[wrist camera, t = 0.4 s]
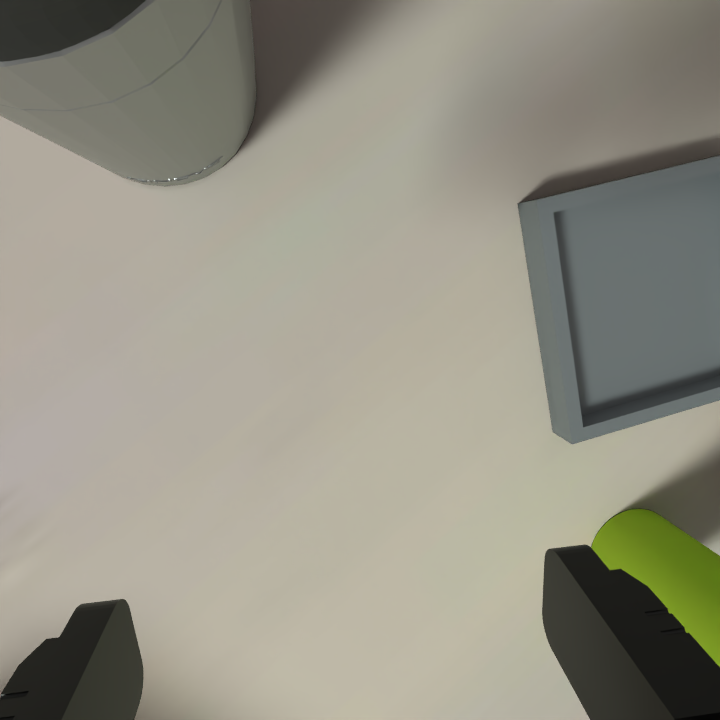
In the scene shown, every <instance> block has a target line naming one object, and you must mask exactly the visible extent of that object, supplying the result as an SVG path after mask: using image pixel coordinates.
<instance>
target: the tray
mask: <svg viewBox="0 0 720 720" xmlns="http://www.w3.org/2000/svg"><path fill="white" fill-rule="evenodd" d="M518 209H519V215H520V222H521V228H522V235H523V241H524V248H525V254H526V261H527V267H528V274H529V280H530V287H531V293H532V300H533V306H534V313H535V319H536V326H537V332H538V339H539V345H540V352H541V358H542V365H543V371H544V378H545V384H546V391H547V397H548V404H549V410H550V417H551V423H552V430H553V432H554V433H555V434H557V435H558V436H560V437H561V438H563V439H565V440H566V441H568V442H569V443H571V444H575V443H578V442H582V441H585V440H588V439H592V438H595V437H598V436H602V435H605V434H608V433H612V432H615V431H618V430H622V429H625V428H628V427H632V426H635V425H638V424H642V423H645V422H648V421H652V420H655V419H658V418H662V417H665V416H668V415H672V414H675V413H678V412H682V411H685V410H688V409H692V408H695V407H699V406H702V405H705V404H709V403H712V402H715V401H719V400H720V155H718V156H713V157H709V158H705V159H701V160H697V161H693V162H689V163H684V164H680V165H676V166H672V167H668V168H664V169H660V170H655V171H651V172H647V173H643V174H639V175H635V176H631V177H626V178H622V179H618V180H614V181H610V182H606V183H602V184H597V185H593V186H589V187H585V188H581V189H577V190H572V191H568V192H564V193H560V194H556V195H552V196H548V197H543V198H539V199H535V200H531V201H527V202H523V203H519V204H518Z"/></svg>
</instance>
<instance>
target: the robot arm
mask: <svg viewBox="0 0 720 720" xmlns="http://www.w3.org/2000/svg"><path fill="white" fill-rule="evenodd" d="M256 96H257V94H256V78H255V57H254V44H253V32H252V19H251V7H250V0H0V116H2V117H4V118H6V119H8V120H10V121H12V122H14V123H16V124H18V125H20V126H22V127H24V128H26V129H28V130H30V131H32V132H34V133H36V134H38V135H40V136H42V137H44V138H46V139H48V140H50V141H52V142H54V143H56V144H58V145H60V146H62V147H64V148H66V149H68V150H70V151H72V152H74V153H75V154H77V155H79V156H81V157H83V158H85V159H87V160H89V161H91V162H93V163H95V164H97V165H99V166H101V167H103V168H105V169H107V170H109V171H111V172H113V173H115V174H117V175H119V176H121V177H123V178H126V179H130V180H133V181H136V182H139V183H142V184H148V185H157V186H173V185H182V184H188V183H191V182H193V181H196V180H199V179H202V178H205V177H207V176H208V175H210V174H212V173H213V172H215V171H216V170H218V169H220V168H221V167H223V166H224V165H225V164H226V163H227V162H228V161H229V160H230V159H231V158H232V157H233V156H234V155H235V154H236V152H237V151H238V149H239V148H240V146H241V144H242V143H243V141H244V140H245V138H246V136H247V134H248V131H249V128H250V126H251V123H252V120H253V117H254V111H255V104H256ZM542 616H543V624H544V629H545V633H546V636H547V639H548V642H549V644H550V647H551V649H552V651H553V652H554V654H555V656H556V658H557V660H558V662H559V663H560V665H561V667H562V669H563V671H564V673H565V674H566V676H567V678H568V680H569V682H570V683H571V685H572V687H573V689H574V691H575V693H576V694H577V696H578V698H579V700H580V702H581V704H582V705H583V707H584V709H585V711H586V713H587V714H588V716H589V718H590V720H720V667H719V666H718V665H717V664H716V662H715V661H714V660H713V659H712V658H711V657H710V656H709V655H708V653H707V652H706V651H705V650H704V649H703V648H702V647H701V646H700V644H699V643H698V642H697V641H696V640H695V639H694V638H693V637H692V635H691V634H690V633H686V631H685V628H684V626H683V625H682V624H681V623H680V622H679V621H678V620H677V619H676V617H675V616H674V615H673V614H672V613H669V612H668V608H667V607H666V606H665V605H664V604H663V603H662V602H661V600H660V599H659V598H658V597H657V596H656V595H655V594H654V593H653V591H652V590H651V589H650V588H649V587H648V586H647V585H645V584H643V583H642V582H640V581H639V580H637V579H636V578H634V577H633V576H631V575H630V574H628V573H627V572H625V571H623V570H622V569H616V570H609V569H608V567H607V566H606V565H605V564H604V563H603V561H602V560H601V559H600V558H599V556H598V555H597V554H596V553H595V552H594V550H593V549H592V548H591V547H589V546H588V545H578V546H569V547H561V548H553V549H548V550H547V551H546V554H545V562H544V585H543V607H542ZM142 688H143V664H142V659H141V655H140V650H139V646H138V642H137V638H136V634H135V629H134V625H133V621H132V617H131V612H130V608H129V605H128V603H127V602H126V600H124V599H119V600H111V601H102V602H94V603H86V604H81V605H79V606H78V607H77V608H76V609H75V611H74V613H73V614H72V616H71V618H70V620H69V621H68V623H67V625H66V627H65V628H64V630H63V632H62V634H61V635H60V637H59V638H51V639H46V640H45V641H44V642H43V643H42V644H41V645H40V646H39V647H37V648H36V649H35V650H34V651H33V652H32V653H31V654H30V655H29V656H28V657H27V658H26V659H25V660H24V661H23V662H22V663H21V664H20V665H19V666H18V667H17V669H16V671H15V672H14V674H13V675H12V677H11V679H10V680H9V682H8V684H7V685H6V687H5V688H4V690H3V692H2V693H1V698H0V720H134V718H135V715H136V712H137V709H138V706H139V703H140V699H141V694H142Z"/></svg>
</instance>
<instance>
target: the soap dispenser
mask: <svg viewBox="0 0 720 720" xmlns="http://www.w3.org/2000/svg"><path fill="white" fill-rule="evenodd" d="M591 548H592V549H593V550H594V552H595V553H596V554H597V555H598V556H599V558H600V559H601V560H602V561H603V563H604V564H605V565H606V566H607V567H608V569H609V570H616V569H622V570H623V571H625V572H627V573H628V574H630V575H631V576H633V577H634V578H636V579H637V580H639V581H640V582H642V583H643V584H645V585H647V586H648V587H649V588H650V589H651V590H652V591H653V593H654V594H655V595H656V596H657V597H658V598H659V599H660V600H661V602H662V603H663V604H664V605H665V606H666V607H667V608H668V612H669V613H672V614H673V615H674V616H675V617H676V619H677V620H678V621H679V622H680V623H681V624H682V625H683V626H684V628H685V631H686V633H690V634H691V635H692V637H693V638H694V639H695V640H696V641H697V642H698V643H699V644H700V646H701V647H702V648H703V649H704V650H705V651H706V652H707V653H708V655H709V656H710V657H711V658H712V659H713V660H714V661H715V662H716V664H717V665H718V666H719V667H720V556H719V555H717V554H716V553H715V552H713V551H712V550H710V549H709V548H707V547H706V546H704V545H703V544H701V543H700V542H698V541H697V540H695V539H694V538H692V537H691V536H689V535H688V534H686V533H685V532H684V531H682V530H681V529H679V528H678V527H676V526H675V525H673V524H672V523H670V522H669V521H667V520H666V519H664V518H663V517H661V516H660V515H658V514H657V513H655V512H653V511H650V510H646V509H632V510H628V511H624V512H622V513H620V514H618V515H616V516H614V517H613V518H611V519H610V520H609V521H608V522H607V523H606V524H605V525H604V526H603V527H602V528H601V529H600V530H599V532H598V533H597V535H596V537H595V539H594V541H593V544H592V547H591Z"/></svg>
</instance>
